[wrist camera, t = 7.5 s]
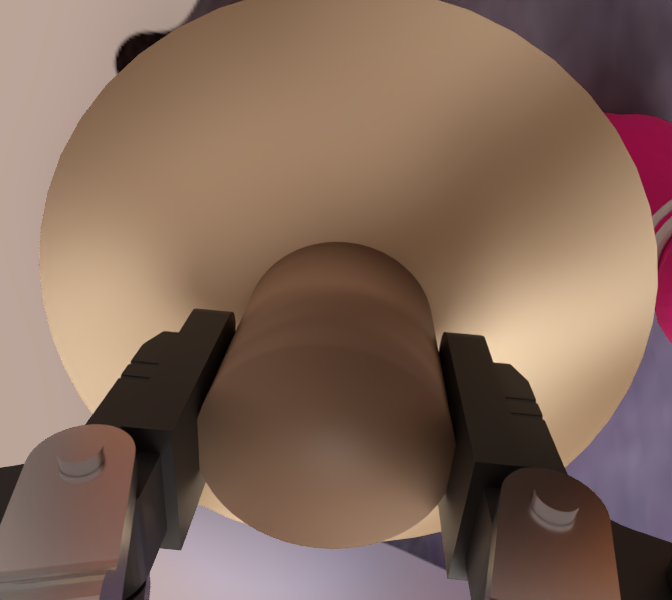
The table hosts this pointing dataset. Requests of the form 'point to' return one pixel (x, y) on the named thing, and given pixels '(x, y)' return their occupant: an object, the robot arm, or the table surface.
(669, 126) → the pepper mill
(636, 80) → the table surface
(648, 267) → the lid
